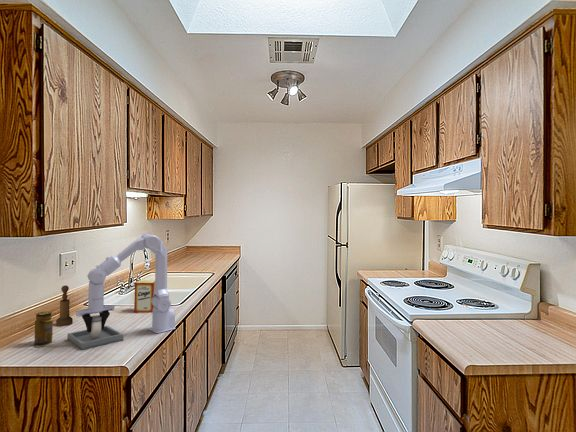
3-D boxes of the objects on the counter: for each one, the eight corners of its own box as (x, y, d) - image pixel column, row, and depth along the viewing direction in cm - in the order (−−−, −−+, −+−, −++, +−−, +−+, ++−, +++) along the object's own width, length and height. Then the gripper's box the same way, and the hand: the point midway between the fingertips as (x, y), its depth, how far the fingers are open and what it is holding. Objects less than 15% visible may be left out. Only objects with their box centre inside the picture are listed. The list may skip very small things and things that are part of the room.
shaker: (98, 333, 161) (99, 314, 161) (103, 336, 158) (103, 316, 158) (87, 335, 158) (87, 316, 157) (91, 338, 155) (92, 319, 154)
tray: (107, 331, 169) (107, 325, 169) (123, 340, 158) (123, 334, 158) (67, 339, 157) (67, 333, 157) (81, 350, 147) (81, 343, 147)
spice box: (155, 309, 207) (156, 279, 207) (153, 312, 201) (153, 282, 201) (137, 309, 206) (137, 279, 206) (134, 312, 200) (134, 282, 199)
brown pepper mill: (57, 327, 173) (58, 287, 172) (54, 323, 178) (55, 285, 177) (74, 324, 177) (74, 286, 177) (70, 321, 182) (71, 283, 182)
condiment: (50, 338, 158) (51, 309, 158) (57, 343, 153) (57, 314, 152) (30, 342, 153) (30, 312, 153) (35, 348, 147) (36, 317, 147)
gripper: (109, 293, 166) (109, 324, 166) (73, 298, 155) (72, 332, 155) (116, 296, 161) (116, 328, 161) (79, 302, 150) (79, 336, 150)
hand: (95, 330), depth 158 cm, fingers closed on shaker, 4 cm apart
